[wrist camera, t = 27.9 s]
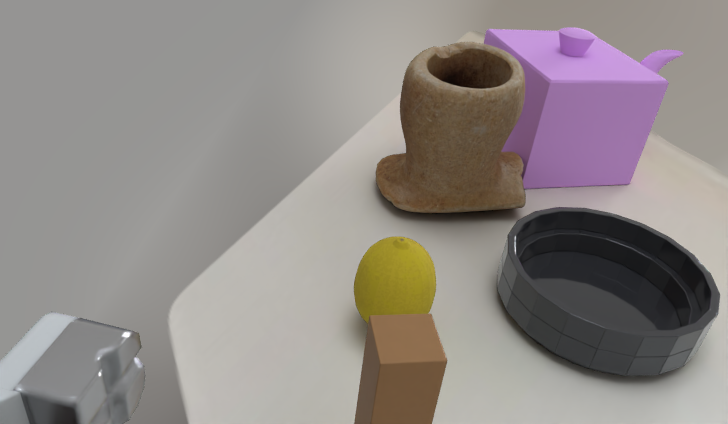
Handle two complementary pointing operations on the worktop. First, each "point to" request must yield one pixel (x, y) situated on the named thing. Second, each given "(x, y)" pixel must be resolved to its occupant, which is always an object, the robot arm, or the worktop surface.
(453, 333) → the worktop surface
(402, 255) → the lemon
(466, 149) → the stone cup
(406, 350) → the sponge wand
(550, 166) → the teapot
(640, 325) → the bowl
